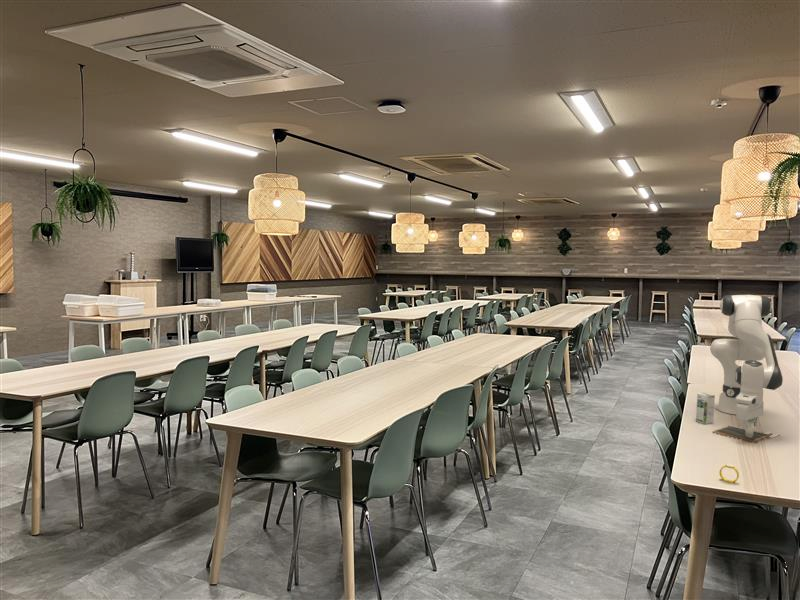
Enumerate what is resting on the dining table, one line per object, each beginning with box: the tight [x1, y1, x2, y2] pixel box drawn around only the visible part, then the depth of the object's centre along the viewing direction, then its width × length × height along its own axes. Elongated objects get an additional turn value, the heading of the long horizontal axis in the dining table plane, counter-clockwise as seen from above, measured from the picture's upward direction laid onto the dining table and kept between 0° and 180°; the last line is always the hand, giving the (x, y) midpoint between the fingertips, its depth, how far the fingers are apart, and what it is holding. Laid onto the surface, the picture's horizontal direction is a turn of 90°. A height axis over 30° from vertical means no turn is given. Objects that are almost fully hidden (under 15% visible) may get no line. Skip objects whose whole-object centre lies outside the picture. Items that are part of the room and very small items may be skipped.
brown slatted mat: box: [712, 425, 770, 444], centre depth 269 cm, size 17×18×1 cm
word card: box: [763, 431, 779, 439], centre depth 269 cm, size 8×5×1 cm, turn 128°
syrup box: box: [695, 391, 716, 425], centre depth 289 cm, size 6×6×14 cm
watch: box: [718, 463, 740, 483], centre depth 209 cm, size 6×3×6 cm, turn 50°
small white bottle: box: [745, 419, 755, 438], centre depth 262 cm, size 3×3×8 cm
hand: (749, 427), depth 262 cm, fingers open, 8 cm apart
